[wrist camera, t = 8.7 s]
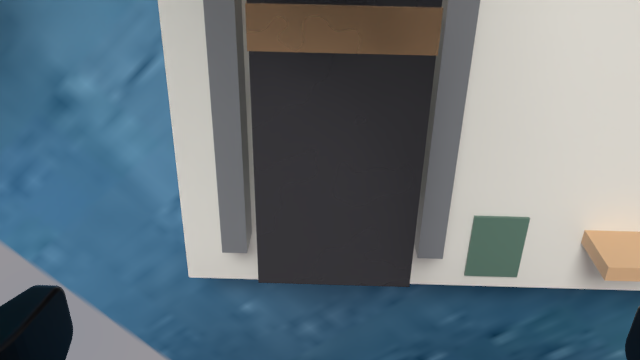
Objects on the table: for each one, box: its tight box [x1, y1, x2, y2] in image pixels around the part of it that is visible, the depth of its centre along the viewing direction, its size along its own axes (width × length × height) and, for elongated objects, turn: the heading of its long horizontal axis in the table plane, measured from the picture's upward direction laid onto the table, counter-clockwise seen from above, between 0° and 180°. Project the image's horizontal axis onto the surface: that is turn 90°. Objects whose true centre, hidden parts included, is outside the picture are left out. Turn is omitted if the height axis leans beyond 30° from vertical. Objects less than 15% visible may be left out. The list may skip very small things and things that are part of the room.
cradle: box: [158, 0, 640, 291], centre depth 18 cm, size 14×18×4 cm
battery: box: [245, 0, 443, 287], centre depth 16 cm, size 8×4×4 cm, turn 179°
